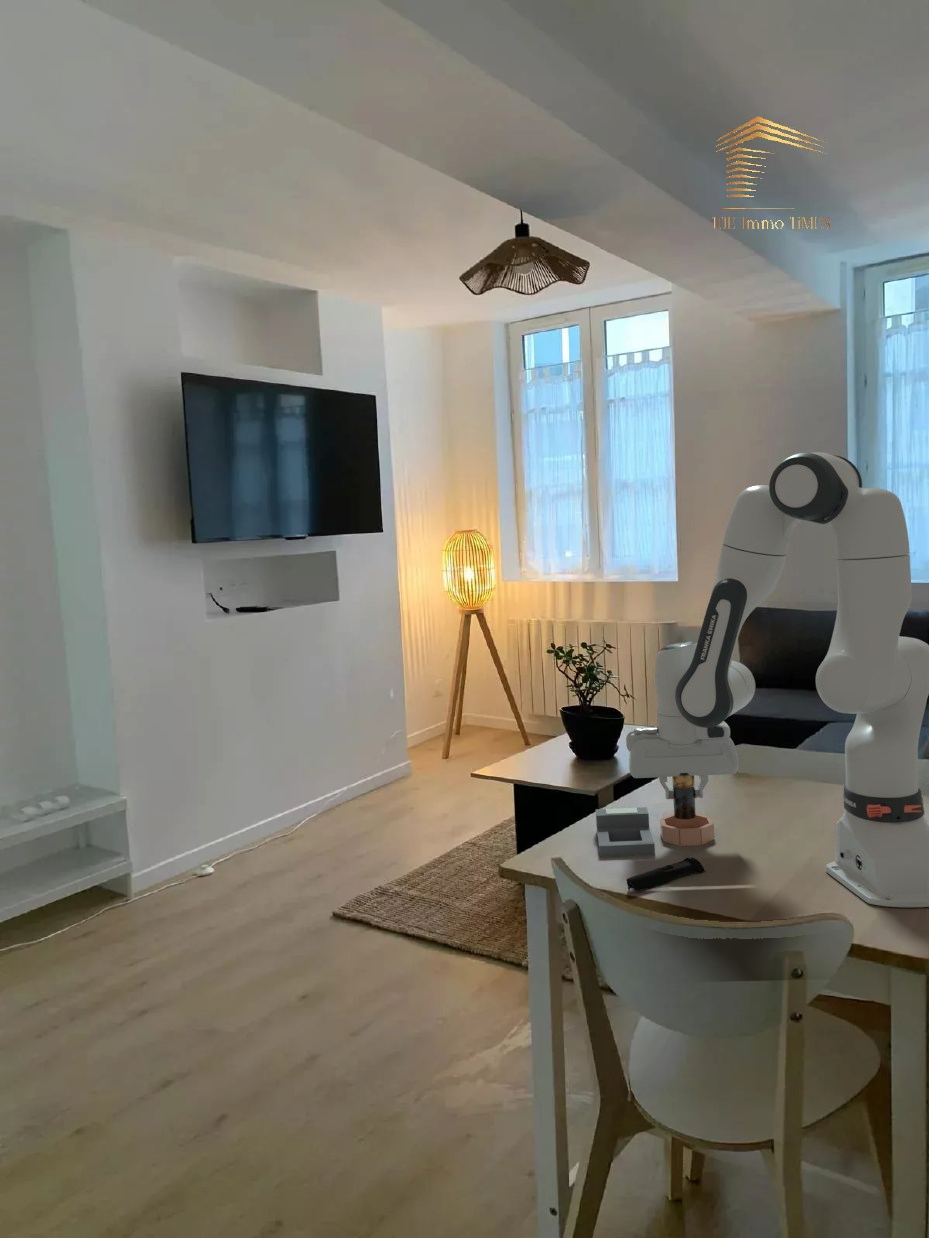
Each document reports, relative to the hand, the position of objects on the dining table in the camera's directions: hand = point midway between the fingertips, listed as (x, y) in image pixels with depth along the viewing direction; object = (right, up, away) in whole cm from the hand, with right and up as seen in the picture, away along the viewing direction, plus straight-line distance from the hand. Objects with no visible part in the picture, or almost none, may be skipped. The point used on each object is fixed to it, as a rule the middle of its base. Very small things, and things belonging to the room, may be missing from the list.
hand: (684, 797), depth 179 cm
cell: (0, -4, +1) cm, 4 cm away
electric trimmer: (-7, -11, -19) cm, 23 cm away
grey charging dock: (-11, -9, 0) cm, 14 cm away
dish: (+1, -8, +1) cm, 8 cm away
